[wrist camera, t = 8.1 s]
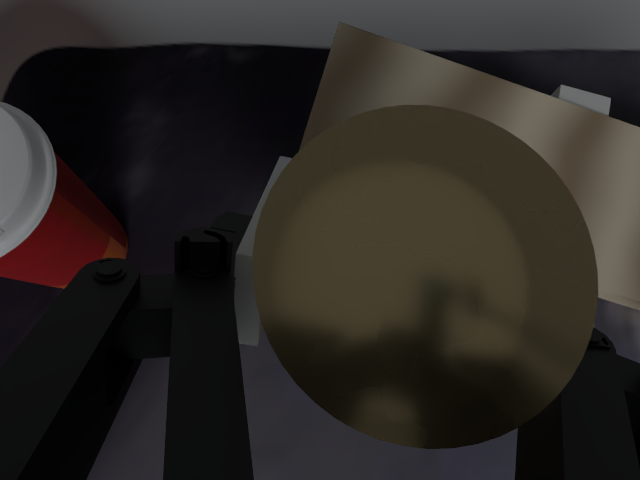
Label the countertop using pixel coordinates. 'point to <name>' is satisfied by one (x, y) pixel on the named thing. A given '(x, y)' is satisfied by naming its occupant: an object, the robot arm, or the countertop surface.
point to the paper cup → (47, 210)
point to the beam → (514, 116)
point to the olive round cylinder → (425, 276)
